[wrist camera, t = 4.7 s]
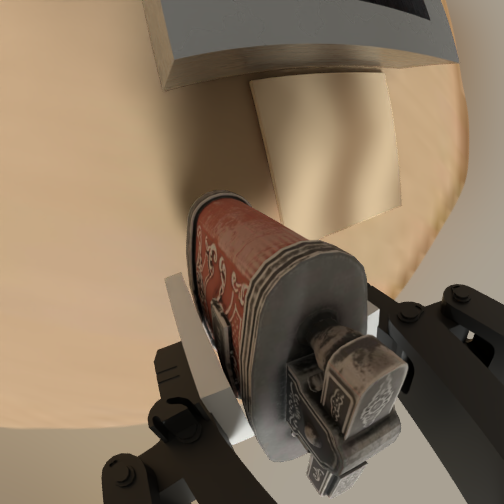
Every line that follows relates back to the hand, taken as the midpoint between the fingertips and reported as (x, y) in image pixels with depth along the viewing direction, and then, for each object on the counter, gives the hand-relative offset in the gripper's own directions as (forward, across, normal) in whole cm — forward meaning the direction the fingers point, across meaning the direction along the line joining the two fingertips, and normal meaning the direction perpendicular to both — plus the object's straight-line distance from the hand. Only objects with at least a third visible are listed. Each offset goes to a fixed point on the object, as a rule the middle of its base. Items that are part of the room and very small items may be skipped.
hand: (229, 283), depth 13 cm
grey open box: (+4, +8, +18) cm, 20 cm away
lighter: (+1, 0, 0) cm, 1 cm away
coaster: (+4, +10, +4) cm, 11 cm away
